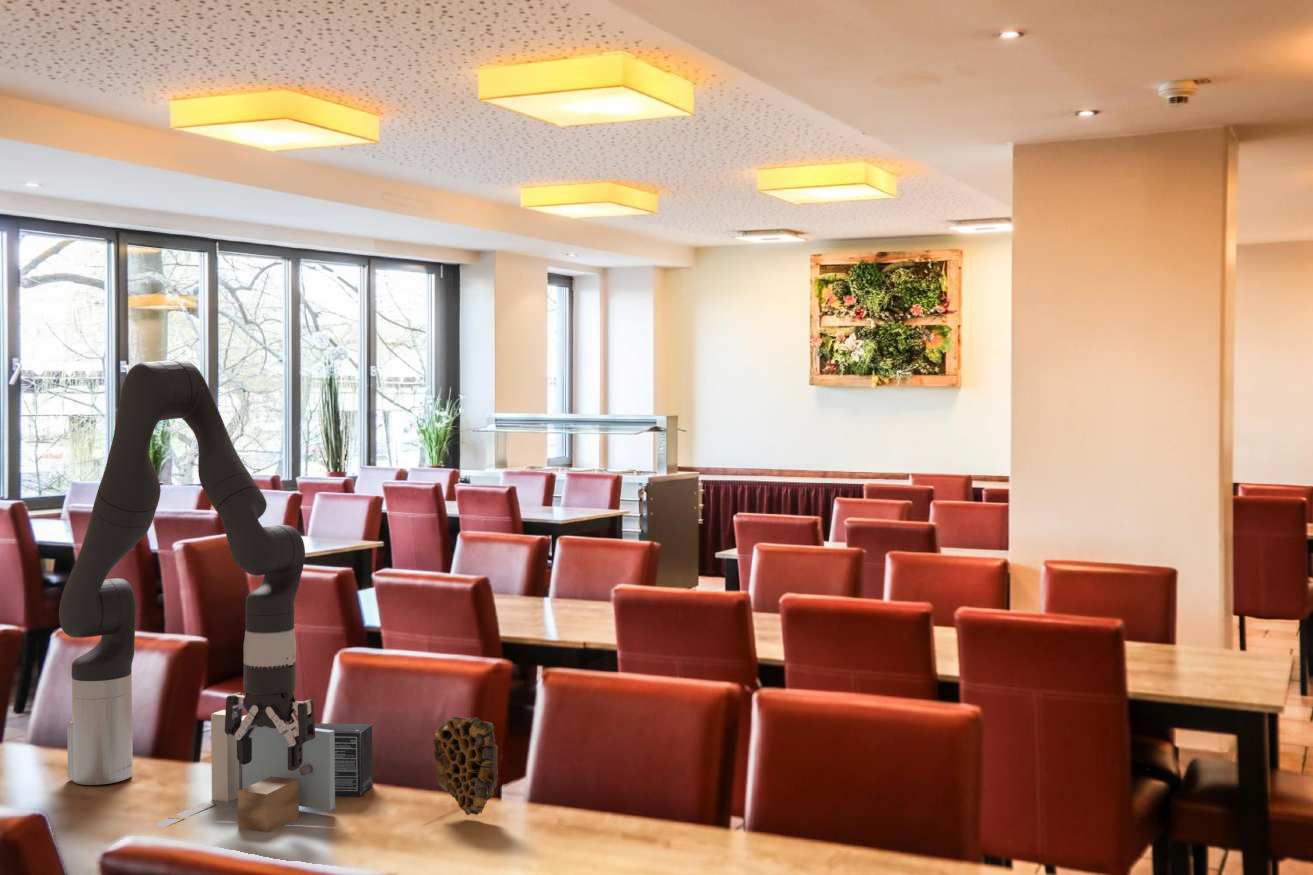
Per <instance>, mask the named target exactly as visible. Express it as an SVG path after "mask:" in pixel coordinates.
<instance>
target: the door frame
mask: <svg viewBox="0 0 1313 875" xmlns="http://www.w3.org/2000/svg"><path fill="white" fill-rule="evenodd" d="M225 714H226V709H221V710H218V711H216V712H213V713H211V714H210V721H211V722H210V735H211V737H210V738H211V739H210V742H211V743H210V744H211V746H210V747H211V750H210V752H211V754H210V755H211V756H210V757H211V800H212V801H219V802H225V803H228V802H231V801H233V799H234V800H236V799H238V798H237V797H238V791H239V760H238V759H237V740H236V738H235V737H234V736H233V735H231V734H229V735H227V734H226V733H225ZM246 715H247V714H246ZM246 715H242V720H244V718H245V717H246ZM216 806H217V804H216V803H210V802H202V803H199V804H197V805H195V806H192V807H190V808H189V809H185V810H183V811H181V812H178V813H176V816H178V818H177V817H168V818H165V819H163V820H161V821H159V822H156V823H154V825H156V826H158V827H160V828H166V827H170V826H172V825H174V824H176V823H179V822H181V821H184V820H185V819H186V818H188V817H191V816H194V815H196V814H199V813H201V812H203V811H206V810H209V809H212V808H214V807H216ZM180 817H181V818H180Z"/></svg>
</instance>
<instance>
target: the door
mask: <svg viewBox="0 0 1313 875" xmlns="http://www.w3.org/2000/svg"><path fill="white" fill-rule="evenodd" d="M242 721H243V720H242ZM249 737H252V760H251V762H250V763H247V764H245V765H243V764H239V790H242V789H244V788H246V787H248V786H251V785H253V784H255V783H257V782H259V781H262V780H264V779H266V778H268V777H271V776H272V777H282V778H292V779H299V807H303V808H304V807H305V808H311V809H316V810H317V809H319V810H324V811H333V810H335V808H336V796H335V740H334V730H326V729H317V728H315V738H314V739H312V740H309V741H307V742H305V743H303V757H302V758H303V762H302V765H300V767H299V768H298V769H296V770H294V771H291V770H288V746H290V745H289V743H288V741H287V740H286V738H285V736H284V735H282V734H280V732H279V731H278V729H277V728H275V729H274V728H269V727H266V726H264V727H256V728H255V729H254V731H253V732H252V734H251V735H250V736H249Z"/></svg>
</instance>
